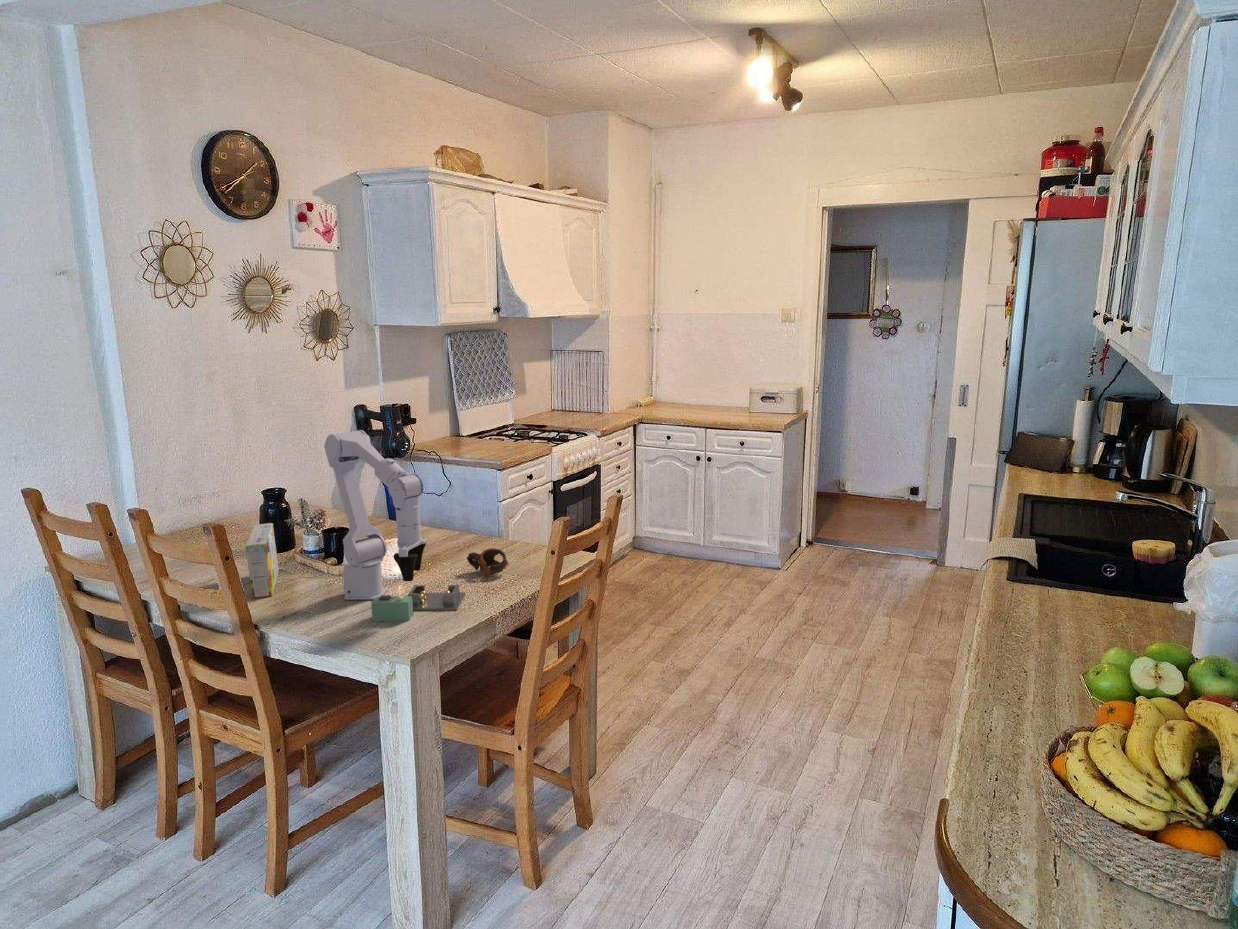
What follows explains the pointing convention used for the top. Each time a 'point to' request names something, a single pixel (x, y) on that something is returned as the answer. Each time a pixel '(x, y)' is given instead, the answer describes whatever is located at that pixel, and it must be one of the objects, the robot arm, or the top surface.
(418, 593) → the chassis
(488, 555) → the dark brown curved piece
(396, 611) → the green knobbed block
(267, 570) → the snack box
